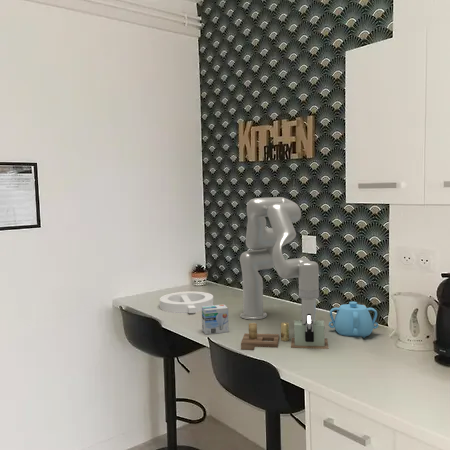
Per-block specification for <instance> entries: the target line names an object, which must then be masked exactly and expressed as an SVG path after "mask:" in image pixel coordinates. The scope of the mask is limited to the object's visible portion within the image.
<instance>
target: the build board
mask: <svg viewBox="0 0 450 450" xmlns="http://www.w3.org/2000/svg"><path fill="white" fill-rule="evenodd" d="M279 340H280V334H278V333H258V324H257V323H256V322H250V323H248V332H247V333H245V332H244V334H243V336H242V339H241V342H240V350H243V351H244V350H248V351H251V350H252V351H254V350H255V348H277V349H278V346H279Z"/></svg>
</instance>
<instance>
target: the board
mask: <svg viewBox="0 0 450 450" xmlns="http://www.w3.org/2000/svg"><path fill="white" fill-rule="evenodd" d="M324 339H325V346H295V337H291V339H290V349H315V350H316V349H318V350H319V349H320V350H321V349H322V350H328V349H330V348H329V342H328V338H325V337H324Z"/></svg>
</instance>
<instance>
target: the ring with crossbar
mask: <svg viewBox="0 0 450 450" xmlns="http://www.w3.org/2000/svg"><path fill="white" fill-rule="evenodd" d="M212 305H214V295H213V294H211V293H210V292H203V291H192V290H191V291H178V292H176V291H175V292H172V293H167V294H164V295H161V297H159V308H160V310H161V309H162V310H161V311H163V310H164V311H163V312H167V311H168V313H173V312H174V313H175V314H186V313H187V314H188V313H189V314H196V313H198V312H202V306H212ZM174 313H173V314H174Z"/></svg>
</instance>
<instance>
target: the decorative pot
mask: <svg viewBox="0 0 450 450" xmlns="http://www.w3.org/2000/svg"><path fill="white" fill-rule="evenodd" d="M334 311H336V314H335V316H333V312H334ZM369 311H373V312H374V316H373V317H372V316H371V313H370V312H369ZM329 317H330V320H331V321H329V322H328V326H329V328H331V329H335V331H336V332H337V334H339V335H341V336H345V337H361V338H363V339H366V337H368V336H370V335H372V332H373V330H375V329H378V328H379V323H378V322H377V321H376V320H377V318H378V311H377V310H376V308H373V307H366V306H365V305H363V304H359V303H358V302H357V301H349V302H348V304H347V303H346V304H345V303H344V304H341V305H340V306H339V307H333V308H331V309H330V310H329ZM372 318H373V319H372ZM331 324H332V325H331Z"/></svg>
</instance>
